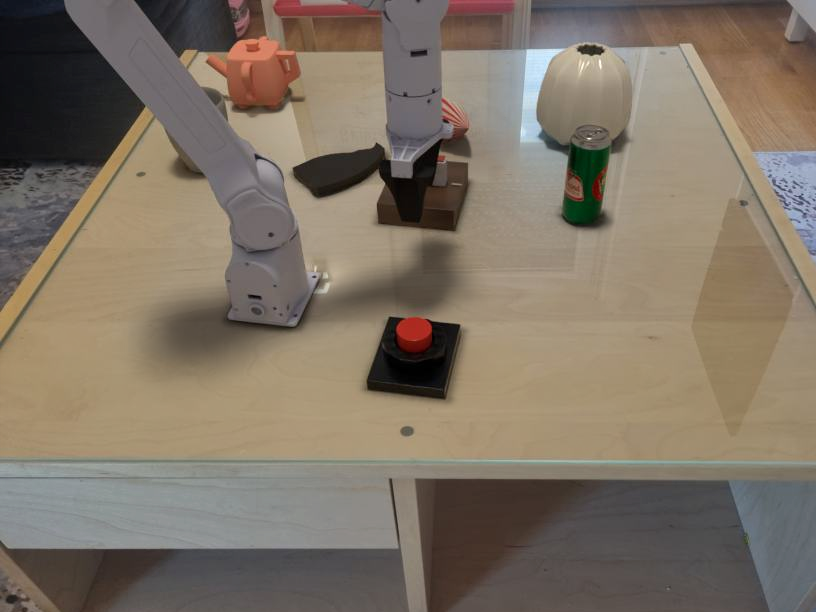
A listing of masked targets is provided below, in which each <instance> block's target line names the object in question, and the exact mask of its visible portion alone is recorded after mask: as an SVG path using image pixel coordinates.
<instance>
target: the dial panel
mask: <svg viewBox="0 0 816 612" xmlns="http://www.w3.org/2000/svg"><path fill="white" fill-rule="evenodd" d="M468 183H469V162H465V161H464V162H463V161H451V160H447V183H446V186H445V187H443V186H430V185H427V189H426V193H425V200H424V208H423V214H422V217H421V220H420V223H413V222H402V221H401V218H400V216H399V213H398V210H397V207H396V204H395V201H394V198H393V196H392V194H391V192H390V190H389V188H388V187H387V185H386V184H385V183H384V186H383V187H382V190H381V193H380V194H379V197H378V199H377V202H376V211H377V213H376V215H377V223H378V224H385V225H395V226H396V225H397V226H407V227H408V226H409V227H416V228H417V227H418V228H426V229H427V228H428V229H429V228H430V229H436V230H437V229H438V230H446V231H454V230H455V228H456V223H457V221H458V217H459V214H460V210H461V207H462V205H463V204H462V203H463V200H464V196H465V193H466V190H467V186H468Z"/></svg>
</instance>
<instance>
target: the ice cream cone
mask: <svg viewBox="0 0 816 612" xmlns="http://www.w3.org/2000/svg"><path fill="white" fill-rule="evenodd" d="M442 119H446V120H448V121H449V124H452V125H453V126H454V132H453V135H452V137H451V138H448V139H446V138H444V140H443V142H444V143H447V142H452V141H455V140H457V139H459V138H461V137H463V136H464V135H465V134H466V133H467V132H468V131H469V128H470V120H469V117H468V114H467V112H466V111H465V109H464V107H463V106H462V105H461V104H460V103H457V102H456V100H453V99H448V98H447V97H445V96H442ZM443 142H442V143H443Z"/></svg>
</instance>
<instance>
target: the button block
mask: <svg viewBox="0 0 816 612" xmlns="http://www.w3.org/2000/svg"><path fill="white" fill-rule="evenodd" d="M406 318H407V317H399V316H388V318H387V321H386V324H385V327H384V330H383V332H382V335H381V338H380V341H379V344H378V346H377V350H376V353H375V355H374V358H373V360H372V364H371V367H370V369H369V372H368V375H367V377H366V388H367V389H369V390H375V391H376V390H377V391H385V392H391V393H399V394H400V393H401V394H408V395H416V396H424V397H432V398H433V397H434V398H441V399H445V398H446V393H447V389H448V386H449V381H450V378H451V373H452V369H453V366H454V365H453V364H454V361H455V357H456V352H457V349H458V344H459V339H460V335H461V330H462V329H461V328H462V327H461V326H462V325H461V324H460V323H453V322H452V323H451V322H443V321H435V320H431V319H429V318H424V319H425V320H427V321H428V322H429V323H430V324H431V327H432V344H431V345H430V347H429V348H428V349H426V350H425V351H422V352H419V353H410V352H406V351H404V350H402V349H401V348H400V347H399V346H398V343H397V331H396V328H397V325H398V324H399V323H400V322H401V321H402V320H404V319H406Z"/></svg>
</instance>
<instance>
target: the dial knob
mask: <svg viewBox="0 0 816 612" xmlns="http://www.w3.org/2000/svg"><path fill="white" fill-rule="evenodd" d="M447 161H448V157H447V156H446V155H440V154H439V156H438V162H437V168H436V174H435V178H434V181H433V184H432V186H443V187H445V186H446V183H447Z"/></svg>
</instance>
